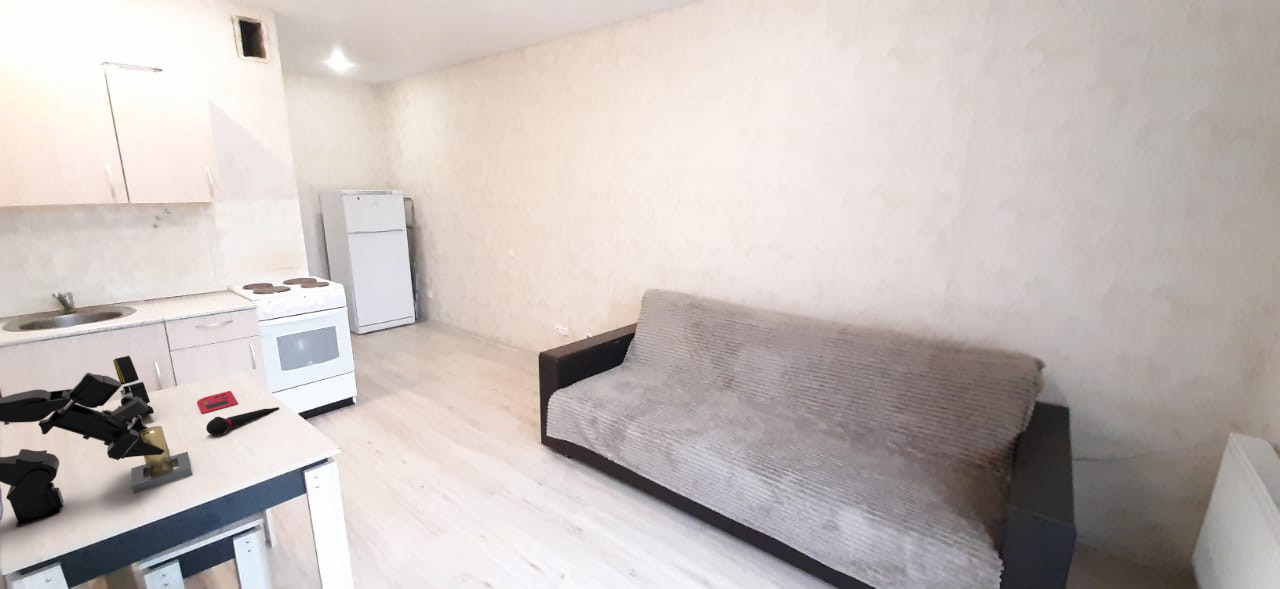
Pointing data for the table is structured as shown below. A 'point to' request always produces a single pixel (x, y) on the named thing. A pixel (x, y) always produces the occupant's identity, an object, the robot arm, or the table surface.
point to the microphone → (235, 421)
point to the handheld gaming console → (216, 402)
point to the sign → (129, 375)
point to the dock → (140, 472)
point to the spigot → (157, 462)
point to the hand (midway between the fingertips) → (162, 445)
